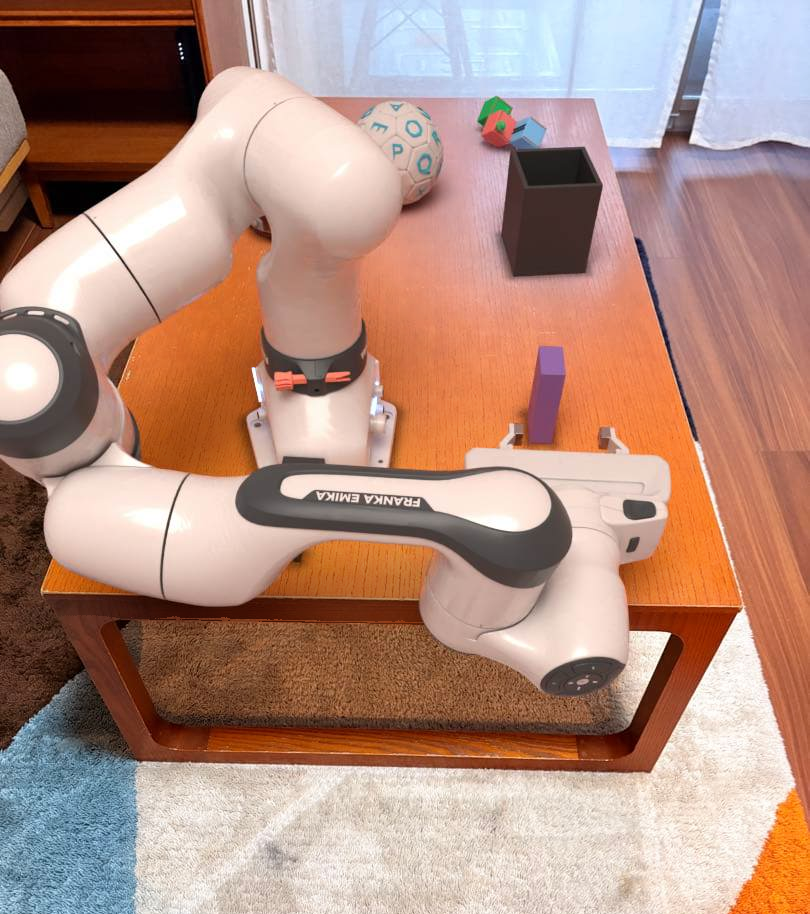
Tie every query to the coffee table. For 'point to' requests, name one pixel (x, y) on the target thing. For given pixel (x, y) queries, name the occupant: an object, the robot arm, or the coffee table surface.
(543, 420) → the purple rectangular block
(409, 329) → the coffee table surface
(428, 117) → the puzzle ball
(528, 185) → the trash can
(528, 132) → the building blocks
